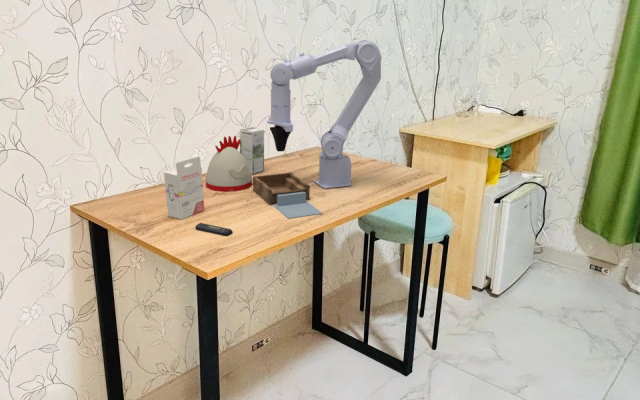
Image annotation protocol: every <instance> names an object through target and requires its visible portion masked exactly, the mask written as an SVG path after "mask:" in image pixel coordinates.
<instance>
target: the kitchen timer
mask: <svg viewBox="0 0 640 400" xmlns="http://www.w3.org/2000/svg"><path fill="white" fill-rule="evenodd" d="M240 141H241V140H240V138H239V139H238V140H237V136H236V135H234V136H233V138H232V137H231V136H230V135H228V138H227V136H224V137H223V142H222V140H219V146H220V148H219V147H218V145H216V144H214V146H215V149H216V152H215V153H214V154H213V155H212V158H211V160H210V161H209V164H208V166H207V167H208V168H207V171H206V175H205V187H206V188H207V189H209V190H210V191H214V192H221V193H223V192H225V193H229V192H230V193H231V192H233V193H234V192H239V191H240V192H241V191H244V190H248V189H249V188H250V189H251V187H253V175H252V174H251V172H250V169H249V166H248V163H247V161H246V159H245V158H244V156H243V155H242V154H241V153H240V150H238V149H239V148H240Z"/></svg>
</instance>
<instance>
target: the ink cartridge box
mask: <svg viewBox="0 0 640 400" xmlns="http://www.w3.org/2000/svg"><path fill="white" fill-rule="evenodd" d="M190 164H192V165H190ZM163 175H164V187H165V188H164V189H165V199H166V207H167V216H168V217H171V218H175V219H177V220H183V219H186V218H189V217H191V216H193V215H195V214H198V213H201V212H203V211H204V210H205V203H204V202H205V200H204V197H205V196H204V184H203V169H202V163H201V157H200V156H199V155H198V156H196V157H191V158H186V159H184V160H181V161H177V162H176V163H175V168H174V169H171V170H170V169H169V170H167V171H164V172H163Z"/></svg>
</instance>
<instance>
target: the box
mask: <svg viewBox="0 0 640 400" xmlns="http://www.w3.org/2000/svg"><path fill="white" fill-rule="evenodd" d="M310 188H311V186H310V185H309V184H308V183H307V182H306V181H304V180H303V179H301V178H299V177H298V176H297V175H295V174H294V173H292V172H285V173H274V174H273V173H272V174H267V175H266V174H264V175H256V176H254V175H253V176H252V190H253V192H254V193H256V194H257V196H259V197H260V198H261V199H262V200H263V201H264V202H265V203H267V204H268V205H269V206H270V205H271V206H272V205H273V204H277V195H281V194H290V193H298V192H305V193H306V201H308V200H310V197H311V196H310V192H311V191H310V190H311V189H310Z"/></svg>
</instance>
